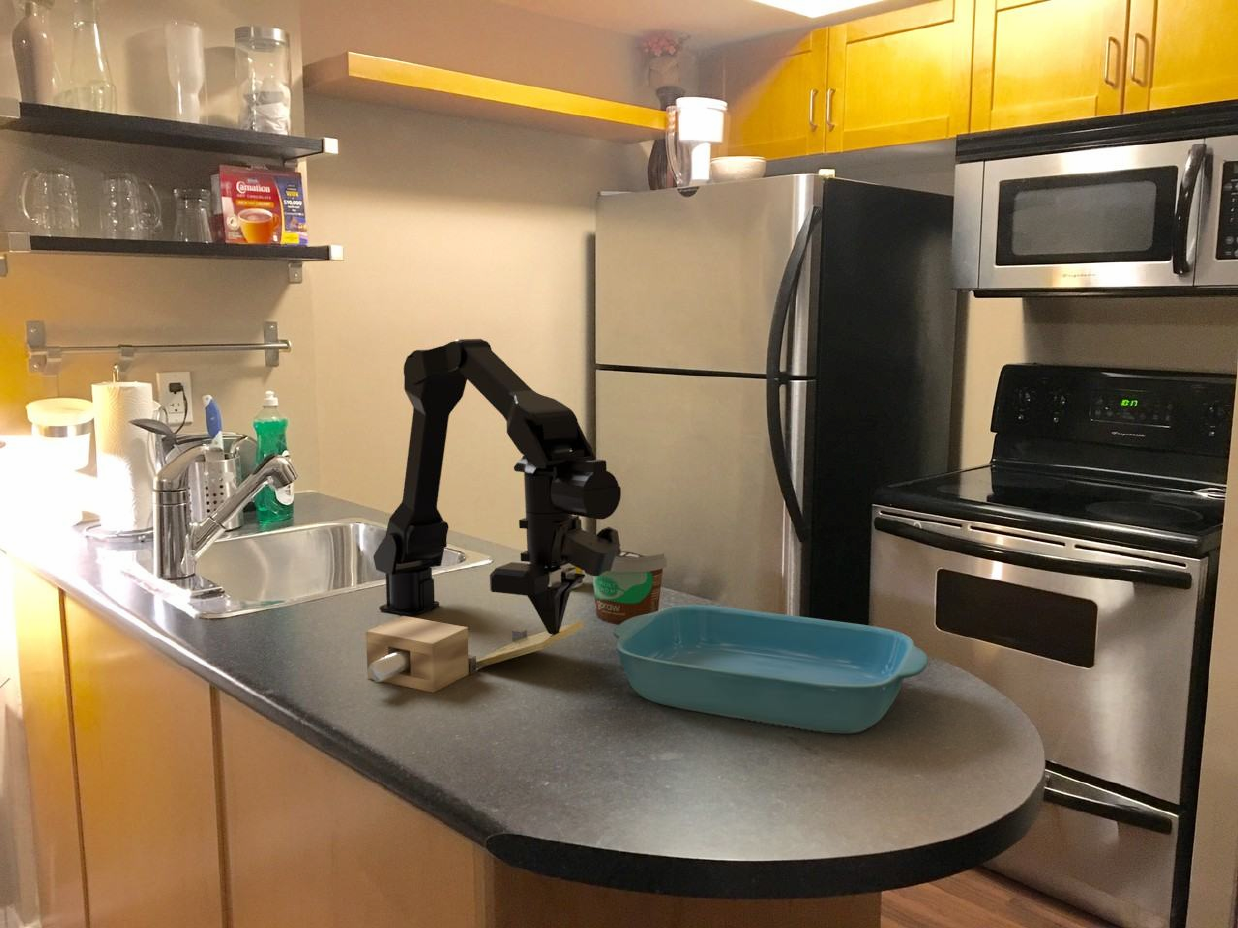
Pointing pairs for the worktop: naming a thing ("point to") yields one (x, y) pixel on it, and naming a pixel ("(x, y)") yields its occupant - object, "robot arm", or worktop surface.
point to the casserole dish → (767, 666)
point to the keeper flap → (528, 645)
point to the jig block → (421, 651)
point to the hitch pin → (390, 665)
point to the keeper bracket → (516, 636)
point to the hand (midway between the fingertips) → (553, 633)
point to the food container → (629, 587)
